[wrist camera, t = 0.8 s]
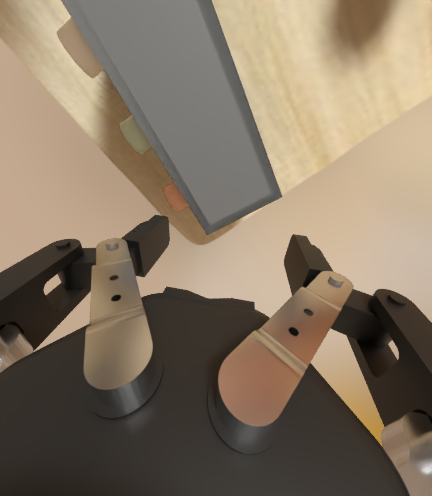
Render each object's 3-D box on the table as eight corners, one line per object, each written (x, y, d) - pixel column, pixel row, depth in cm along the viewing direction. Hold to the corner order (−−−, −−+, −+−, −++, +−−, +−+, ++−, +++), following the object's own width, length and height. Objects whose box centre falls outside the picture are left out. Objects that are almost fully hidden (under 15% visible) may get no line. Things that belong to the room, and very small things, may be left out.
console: (208, 201, 38) (207, 235, 23) (107, 23, 25) (-20, -129, 11) (253, 176, 35) (282, 196, 21) (168, -31, 23) (103, -299, 9)
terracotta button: (180, 207, 31) (176, 215, 27) (166, 185, 29) (160, 190, 26) (217, 186, 29) (218, 191, 26) (205, 162, 28) (204, 164, 24)
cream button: (100, 82, 23) (80, 71, 20) (74, 42, 21) (47, 22, 18) (145, 45, 22) (132, 26, 18) (121, -1, 20) (102, -33, 16)
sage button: (146, 154, 27) (136, 155, 23) (127, 124, 25) (114, 121, 22) (187, 126, 25) (183, 123, 22) (170, 94, 24) (163, 85, 20)
